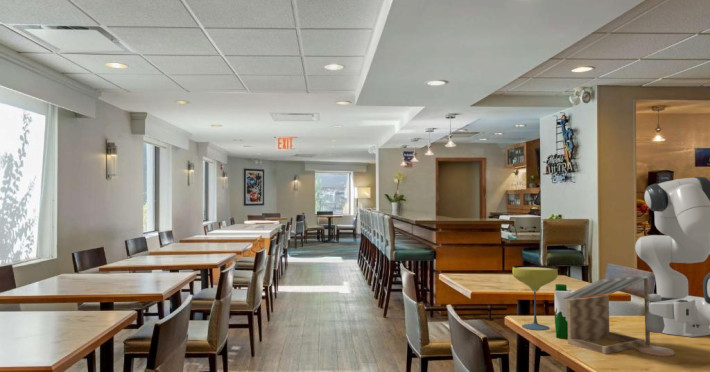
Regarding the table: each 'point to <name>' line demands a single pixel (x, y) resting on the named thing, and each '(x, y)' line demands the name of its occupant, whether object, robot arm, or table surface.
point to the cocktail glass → (535, 284)
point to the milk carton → (561, 310)
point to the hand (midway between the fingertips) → (652, 303)
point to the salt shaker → (654, 317)
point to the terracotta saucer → (655, 350)
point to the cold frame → (600, 315)
